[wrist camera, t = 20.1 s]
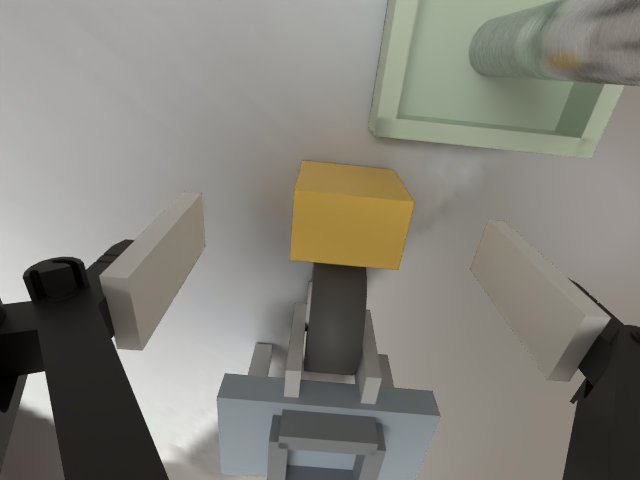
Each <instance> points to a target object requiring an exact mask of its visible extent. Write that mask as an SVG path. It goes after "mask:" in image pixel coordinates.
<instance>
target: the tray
mask: <svg viewBox="0 0 640 480" xmlns="http://www.w3.org/2000/svg"><path fill="white" fill-rule="evenodd" d="M552 1H555V0H388V4H387V10H386V16H385V23H384V29H383V36H382V42H381V49H380V55H379V61H378V68H377V74H376V81H375V87H374V93H373V100H372V106H371V113H370V119H369V126H368V128H369V129H370V131H371V132H372V134H373V135H374V136H378V137H388V138H397V139H407V140H417V141H426V142H436V143H445V144H455V145H464V146H474V147H483V148H493V149H502V150H512V151H521V152H531V153H540V154H550V155H560V156H569V157H578V158H589V159H591V158H592V155H593V153H594V151H595V149H596V147H597V144H598V142H599V140H600V138H601V136H602V134H603V131H604V129H605V127H606V125H607V123H608V120H609V118H610V116H611V114H612V112H613V110H614V107H615V105H616V103H617V101H618V99H619V97H620V94H621V92H622V90H623V88H624V86H625V85H614V84H599V83H584V82H569V81H554V80H539V79H523V78H508V77H493V76H484V75H481V74H479V73H478V72H476V71H475V70H474V68H473V67H472V65H471V63H470V59H469V47H470V43H471V40H472V38H473V36H474V34H475V33H476V31H477V30H478V29H479V28H480V27H481V26H482V25H483V24H484V23H485V22H487V21H489V20H491V19H493V18H496V17H500V16H503V15H507V14H510V13H514V12H517V11H521V10H524V9H528V8H531V7H535V6H538V5H541V4H545V3H548V2H552Z"/></svg>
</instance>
